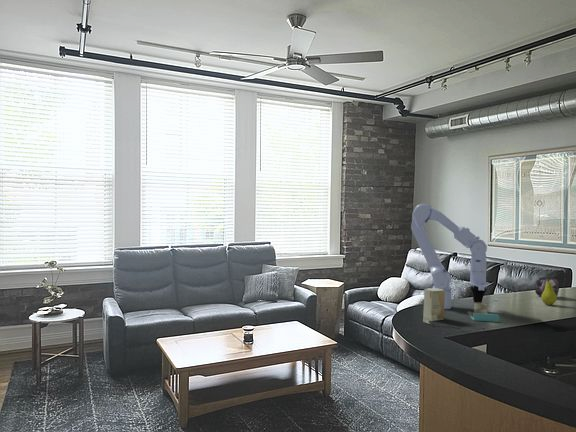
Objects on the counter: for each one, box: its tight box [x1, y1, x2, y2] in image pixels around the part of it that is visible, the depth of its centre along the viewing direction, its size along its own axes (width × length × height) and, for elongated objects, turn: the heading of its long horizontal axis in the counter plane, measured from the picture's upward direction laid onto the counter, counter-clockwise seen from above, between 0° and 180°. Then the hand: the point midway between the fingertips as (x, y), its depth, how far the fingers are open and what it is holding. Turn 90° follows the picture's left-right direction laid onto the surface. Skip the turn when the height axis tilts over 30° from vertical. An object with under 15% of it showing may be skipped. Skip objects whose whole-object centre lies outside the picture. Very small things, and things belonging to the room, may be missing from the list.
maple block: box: [473, 301, 488, 314], centre depth 175 cm, size 4×4×4 cm
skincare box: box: [422, 287, 445, 325], centre depth 167 cm, size 6×4×12 cm
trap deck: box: [466, 311, 500, 323], centre depth 171 cm, size 14×8×4 cm, turn 168°
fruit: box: [540, 276, 558, 306], centre depth 200 cm, size 6×6×12 cm
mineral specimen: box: [534, 276, 560, 297], centre depth 218 cm, size 10×10×10 cm
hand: (477, 305), depth 181 cm, fingers closed
